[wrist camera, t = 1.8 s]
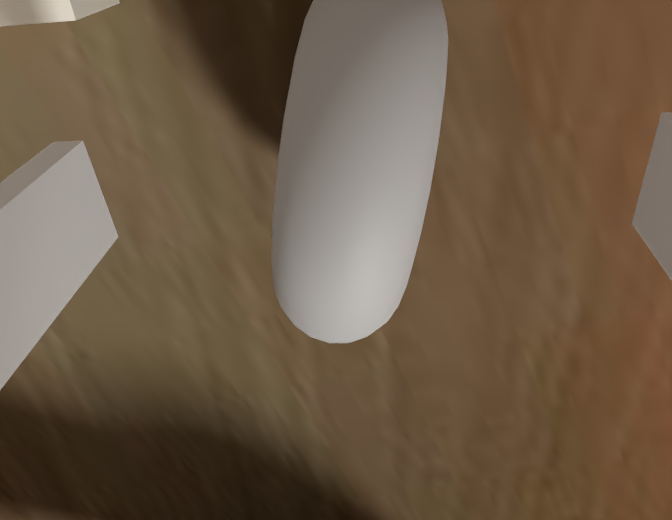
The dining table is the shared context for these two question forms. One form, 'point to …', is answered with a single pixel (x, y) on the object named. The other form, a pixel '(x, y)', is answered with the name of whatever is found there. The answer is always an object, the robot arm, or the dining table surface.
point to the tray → (48, 10)
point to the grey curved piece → (356, 161)
